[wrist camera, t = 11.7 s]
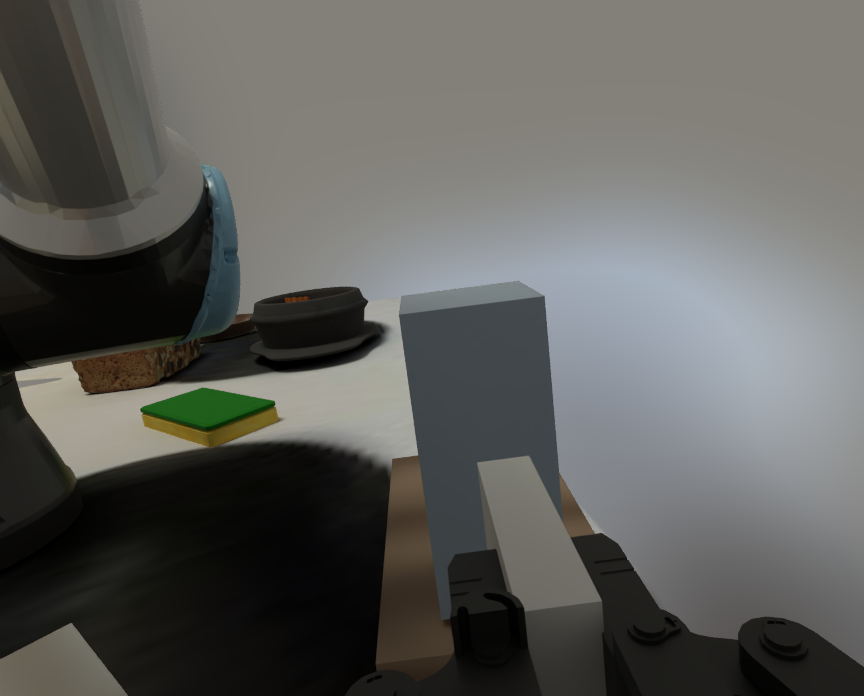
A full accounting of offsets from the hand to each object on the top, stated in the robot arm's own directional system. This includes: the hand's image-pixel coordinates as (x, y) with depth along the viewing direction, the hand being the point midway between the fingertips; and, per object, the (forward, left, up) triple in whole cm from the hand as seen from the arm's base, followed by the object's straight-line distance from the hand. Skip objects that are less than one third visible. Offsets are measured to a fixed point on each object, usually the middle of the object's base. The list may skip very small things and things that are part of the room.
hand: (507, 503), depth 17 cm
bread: (-68, -42, -9) cm, 80 cm away
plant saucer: (-96, -42, -9) cm, 105 cm away
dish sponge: (-40, -24, -9) cm, 47 cm away
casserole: (-69, -18, -9) cm, 72 cm away
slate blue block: (-7, 0, -7) cm, 10 cm away
